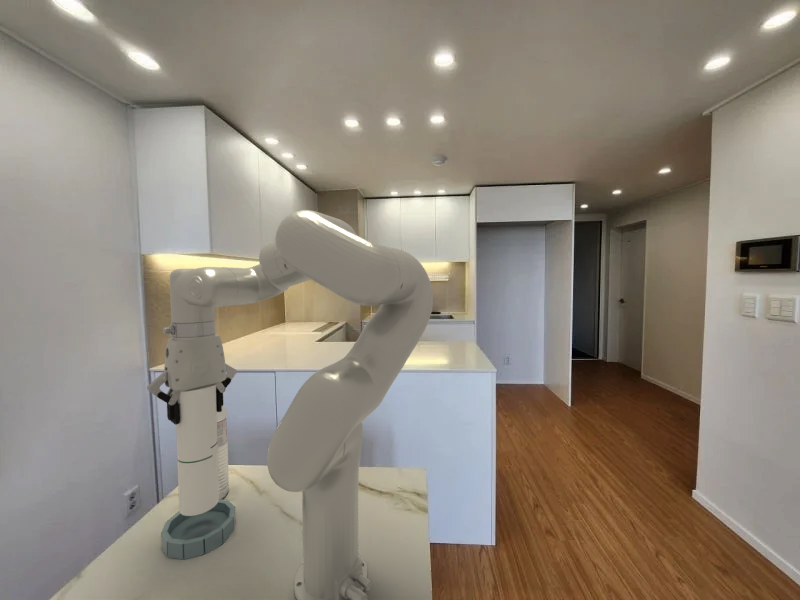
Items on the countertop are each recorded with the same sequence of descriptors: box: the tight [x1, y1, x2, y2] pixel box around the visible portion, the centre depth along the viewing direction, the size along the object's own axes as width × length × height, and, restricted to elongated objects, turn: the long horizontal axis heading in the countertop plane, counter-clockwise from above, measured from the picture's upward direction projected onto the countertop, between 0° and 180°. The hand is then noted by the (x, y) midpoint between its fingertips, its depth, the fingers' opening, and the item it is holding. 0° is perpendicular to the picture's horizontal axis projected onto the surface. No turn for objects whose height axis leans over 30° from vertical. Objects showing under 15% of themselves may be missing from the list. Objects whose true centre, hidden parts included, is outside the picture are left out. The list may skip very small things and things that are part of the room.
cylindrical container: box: [175, 384, 219, 516], centre depth 70 cm, size 7×7×25 cm
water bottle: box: [217, 405, 230, 500], centre depth 82 cm, size 7×7×25 cm
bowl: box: [160, 499, 237, 560], centre depth 71 cm, size 13×13×3 cm
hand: (196, 415), depth 69 cm, fingers closed on cylindrical container, 7 cm apart
